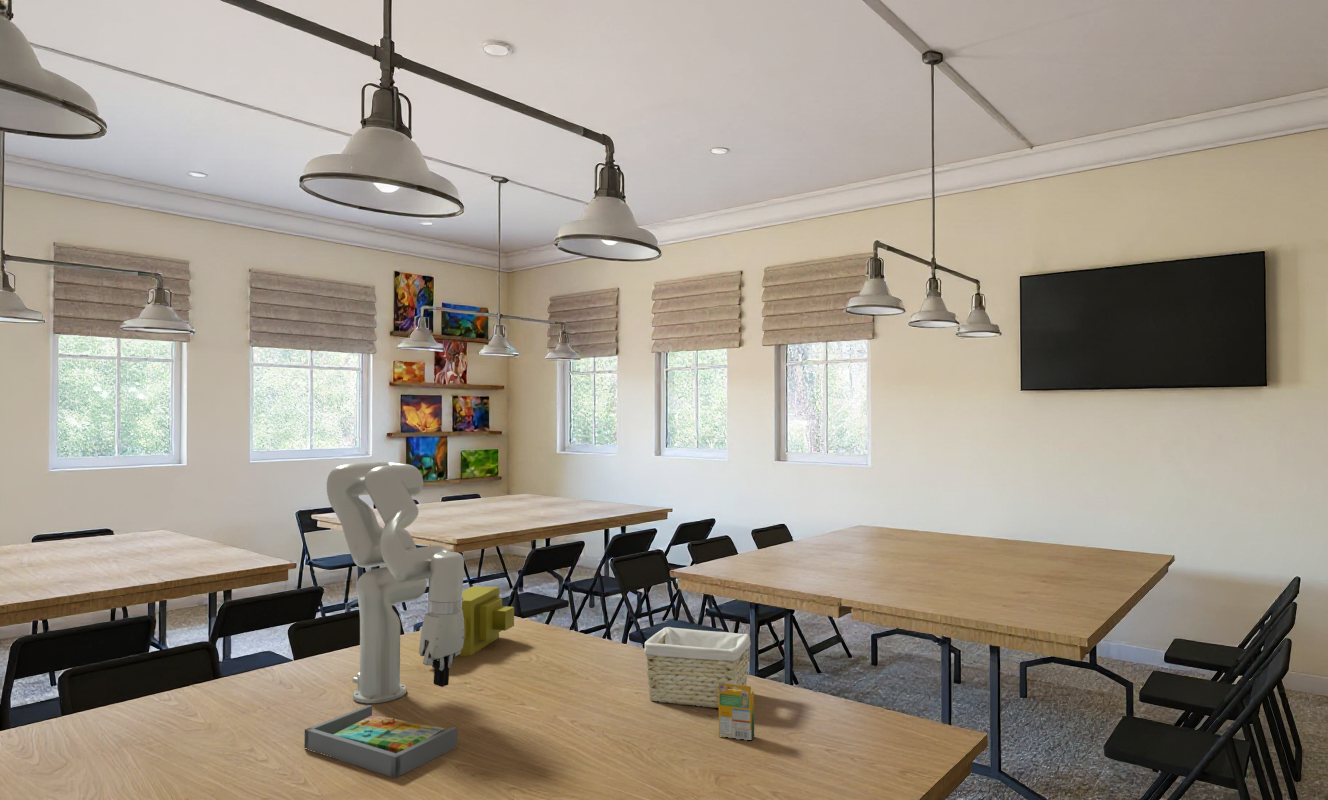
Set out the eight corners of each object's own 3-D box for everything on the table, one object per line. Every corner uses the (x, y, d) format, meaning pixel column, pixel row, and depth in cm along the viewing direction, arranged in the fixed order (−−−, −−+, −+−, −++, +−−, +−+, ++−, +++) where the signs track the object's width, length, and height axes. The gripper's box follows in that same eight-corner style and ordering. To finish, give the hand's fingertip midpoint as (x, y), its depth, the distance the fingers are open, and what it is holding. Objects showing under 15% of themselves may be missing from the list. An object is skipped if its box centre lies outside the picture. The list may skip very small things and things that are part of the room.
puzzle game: (370, 711, 169) (445, 724, 162) (370, 733, 169) (445, 746, 161) (329, 731, 158) (407, 746, 151) (329, 754, 158) (407, 770, 150)
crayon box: (754, 736, 165) (754, 682, 166) (751, 741, 163) (751, 686, 163) (722, 732, 168) (721, 678, 168) (718, 737, 165) (718, 683, 165)
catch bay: (304, 748, 160) (304, 729, 160) (368, 722, 174) (368, 704, 174) (395, 778, 146) (395, 757, 146) (456, 747, 160) (456, 727, 160)
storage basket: (641, 702, 186) (641, 641, 187) (664, 681, 202) (663, 625, 202) (737, 714, 178) (736, 650, 179) (752, 691, 194) (752, 633, 194)
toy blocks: (474, 584, 248) (521, 586, 245) (474, 634, 248) (521, 637, 244) (418, 610, 214) (471, 612, 211) (417, 667, 213) (471, 671, 210)
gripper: (456, 596, 185) (452, 671, 186) (408, 610, 172) (404, 690, 173) (479, 602, 182) (475, 678, 182) (432, 616, 169) (427, 699, 169)
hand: (440, 684), depth 177 cm, fingers closed
